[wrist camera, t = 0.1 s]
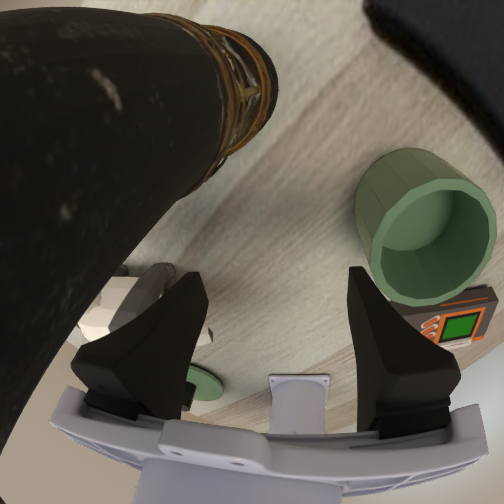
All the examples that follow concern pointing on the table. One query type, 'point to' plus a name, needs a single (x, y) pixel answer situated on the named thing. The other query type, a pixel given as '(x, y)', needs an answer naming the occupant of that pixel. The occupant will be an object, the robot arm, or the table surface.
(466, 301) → the electronic device
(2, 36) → the lantern
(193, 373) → the lid
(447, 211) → the tin
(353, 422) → the table surface
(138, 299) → the giant panda
